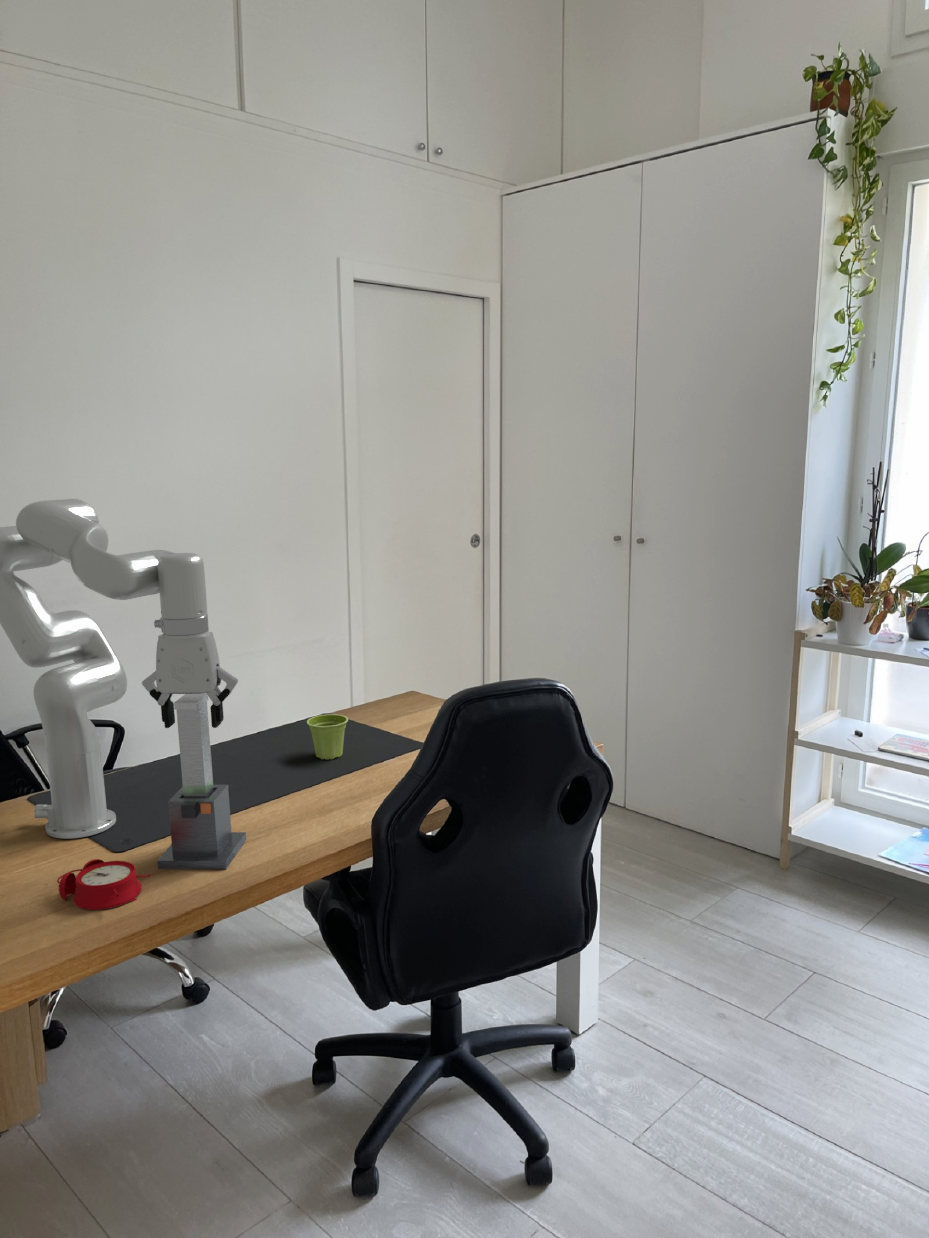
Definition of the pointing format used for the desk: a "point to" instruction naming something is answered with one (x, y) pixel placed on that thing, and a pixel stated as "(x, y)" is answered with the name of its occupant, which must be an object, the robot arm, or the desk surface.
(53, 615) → the robot arm
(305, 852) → the desk surface
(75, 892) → the alarm clock
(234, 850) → the stand base
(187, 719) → the column
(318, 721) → the plant pot
